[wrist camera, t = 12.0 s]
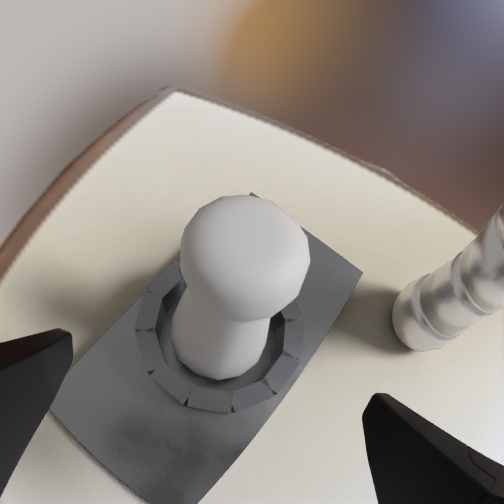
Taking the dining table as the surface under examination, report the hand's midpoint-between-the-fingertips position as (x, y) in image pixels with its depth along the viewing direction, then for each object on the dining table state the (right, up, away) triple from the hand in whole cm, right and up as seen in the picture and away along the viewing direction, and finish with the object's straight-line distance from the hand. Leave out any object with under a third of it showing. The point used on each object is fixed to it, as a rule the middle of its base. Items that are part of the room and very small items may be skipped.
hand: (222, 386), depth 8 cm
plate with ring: (-2, -3, +14) cm, 14 cm away
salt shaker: (-2, -2, +13) cm, 13 cm away
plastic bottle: (+15, -3, +18) cm, 24 cm away
